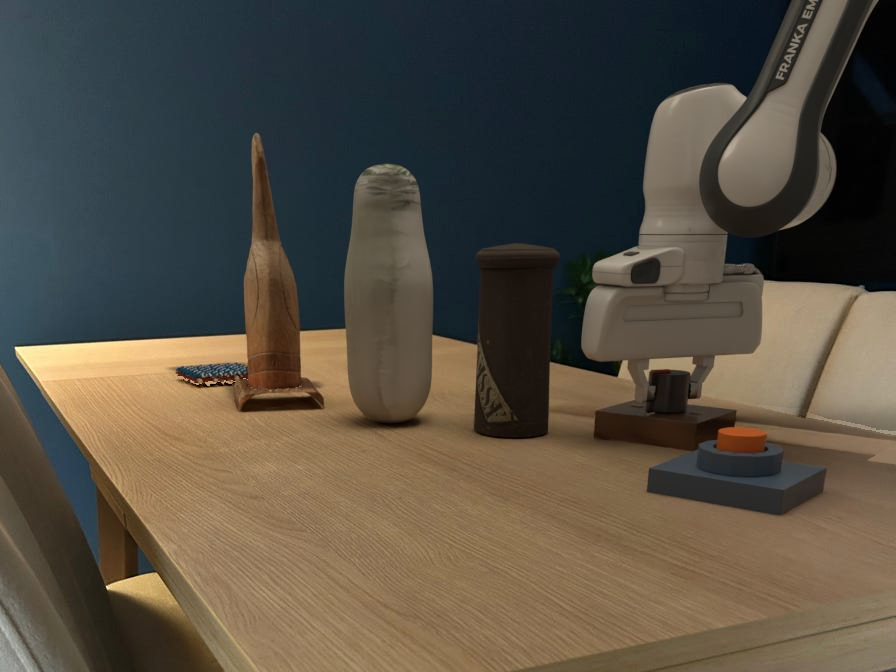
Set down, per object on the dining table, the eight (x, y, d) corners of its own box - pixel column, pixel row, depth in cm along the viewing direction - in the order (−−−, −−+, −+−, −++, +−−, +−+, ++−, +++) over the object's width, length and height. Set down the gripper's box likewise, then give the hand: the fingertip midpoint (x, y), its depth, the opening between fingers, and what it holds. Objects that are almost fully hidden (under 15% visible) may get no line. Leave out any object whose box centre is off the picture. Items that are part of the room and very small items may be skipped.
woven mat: (264, 382, 146) (263, 369, 145) (196, 388, 141) (195, 374, 140) (239, 374, 154) (238, 361, 154) (174, 379, 149) (173, 366, 149)
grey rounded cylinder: (442, 426, 114) (443, 161, 103) (356, 431, 112) (348, 160, 101) (421, 412, 123) (420, 166, 112) (341, 416, 120) (332, 166, 109)
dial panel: (733, 437, 108) (737, 408, 107) (693, 452, 101) (697, 421, 100) (636, 424, 115) (638, 397, 114) (593, 437, 108) (595, 408, 107)
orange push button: (771, 451, 85) (774, 430, 84) (753, 458, 82) (755, 438, 81) (727, 444, 87) (729, 425, 86) (708, 452, 84) (710, 432, 83)
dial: (674, 405, 109) (677, 365, 107) (694, 411, 105) (698, 371, 104) (638, 407, 108) (642, 367, 106) (657, 414, 104) (661, 372, 102)
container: (478, 423, 116) (482, 242, 108) (553, 425, 114) (563, 242, 106) (466, 437, 108) (470, 244, 100) (547, 440, 106) (557, 244, 99)
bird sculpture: (312, 394, 136) (300, 138, 123) (327, 408, 125) (316, 130, 113) (231, 398, 133) (211, 136, 120) (240, 413, 123) (219, 128, 110)
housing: (822, 491, 86) (830, 447, 84) (780, 516, 79) (787, 467, 77) (696, 471, 93) (700, 430, 91) (646, 492, 86) (650, 447, 84)
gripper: (747, 261, 106) (731, 390, 112) (578, 265, 101) (571, 400, 106) (783, 264, 101) (765, 399, 106) (607, 268, 95) (598, 410, 101)
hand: (667, 400), depth 106 cm, fingers closed on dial, 4 cm apart
